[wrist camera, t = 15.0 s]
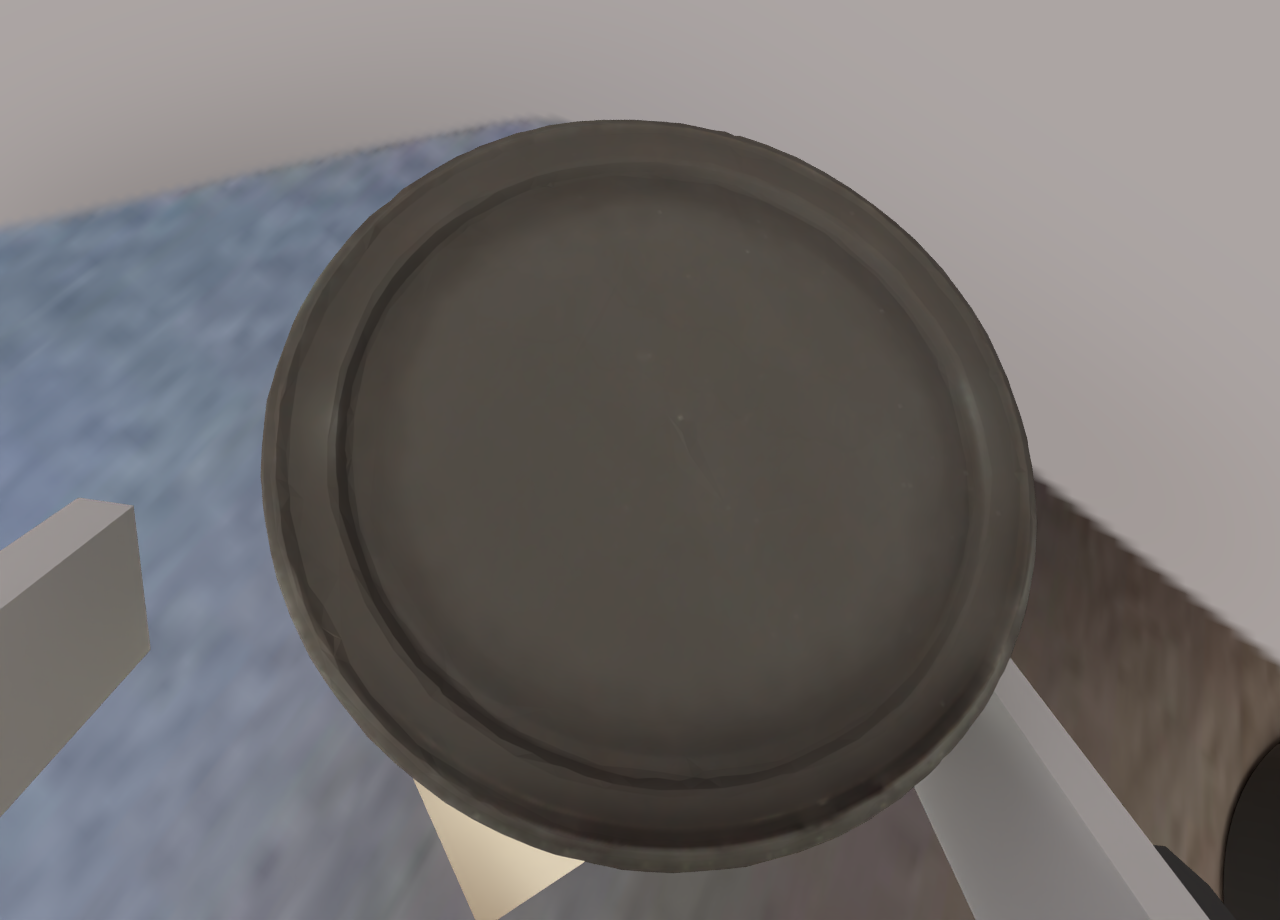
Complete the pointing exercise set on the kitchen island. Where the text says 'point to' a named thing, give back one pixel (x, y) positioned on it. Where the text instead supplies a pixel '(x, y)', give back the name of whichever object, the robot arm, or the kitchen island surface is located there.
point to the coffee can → (648, 495)
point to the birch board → (492, 861)
